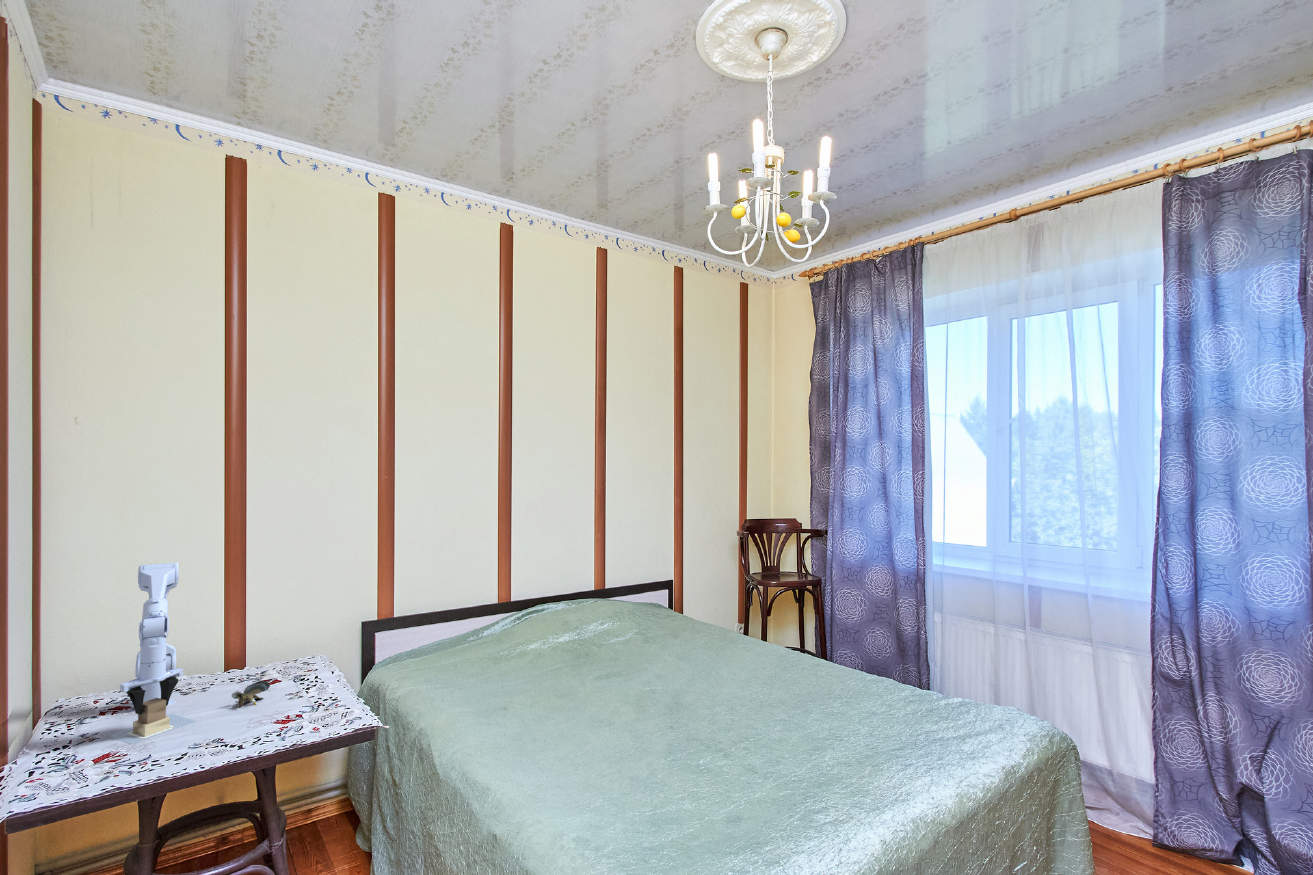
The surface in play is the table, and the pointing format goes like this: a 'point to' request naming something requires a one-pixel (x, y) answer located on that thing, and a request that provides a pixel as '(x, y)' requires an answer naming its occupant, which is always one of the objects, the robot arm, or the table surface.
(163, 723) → the oak slab
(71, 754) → the table surface
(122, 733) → the board
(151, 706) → the walnut block
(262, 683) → the eagle figurine
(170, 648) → the robot arm
